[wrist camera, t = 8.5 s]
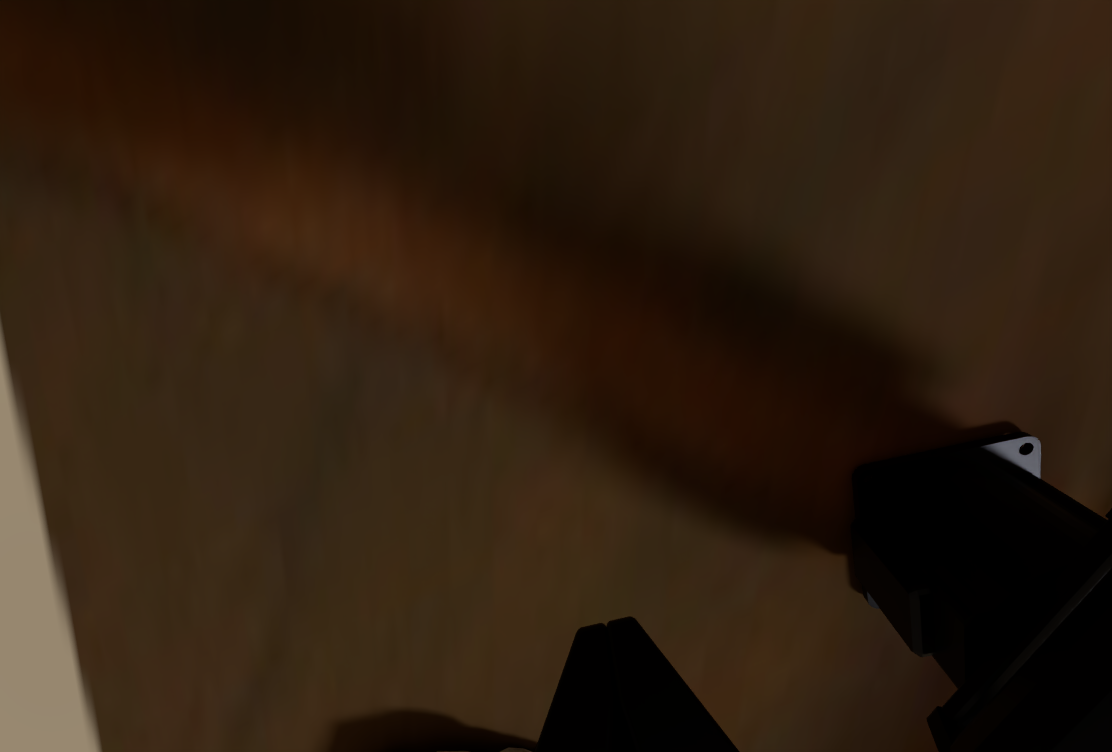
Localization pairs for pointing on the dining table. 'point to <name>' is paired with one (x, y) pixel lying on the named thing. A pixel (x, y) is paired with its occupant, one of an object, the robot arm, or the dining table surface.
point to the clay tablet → (506, 751)
